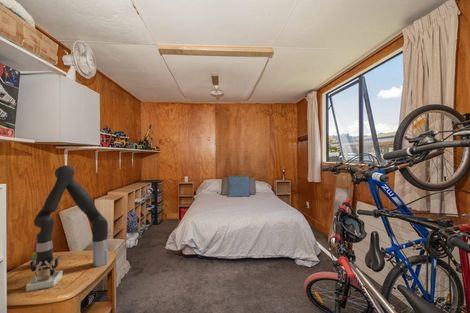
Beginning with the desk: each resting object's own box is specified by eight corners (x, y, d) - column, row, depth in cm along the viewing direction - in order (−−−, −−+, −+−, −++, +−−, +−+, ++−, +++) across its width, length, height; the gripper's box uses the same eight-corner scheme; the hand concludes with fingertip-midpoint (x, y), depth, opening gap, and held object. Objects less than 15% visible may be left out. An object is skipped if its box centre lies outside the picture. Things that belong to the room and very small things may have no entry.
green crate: (62, 275, 145) (62, 270, 145) (53, 286, 132) (53, 280, 132) (37, 279, 140) (37, 274, 140) (26, 291, 128) (26, 285, 128)
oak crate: (53, 274, 140) (53, 265, 140) (48, 279, 135) (48, 269, 135) (41, 276, 138) (41, 266, 138) (36, 281, 133) (36, 271, 133)
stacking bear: (38, 269, 154) (38, 243, 154) (27, 268, 156) (26, 242, 156) (54, 261, 164) (53, 237, 164) (43, 260, 166) (42, 236, 166)
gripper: (61, 244, 142) (61, 271, 142) (33, 248, 137) (33, 275, 138) (56, 249, 135) (56, 277, 135) (26, 253, 130) (27, 281, 130)
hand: (45, 276), depth 136 cm, fingers closed on oak crate, 6 cm apart
